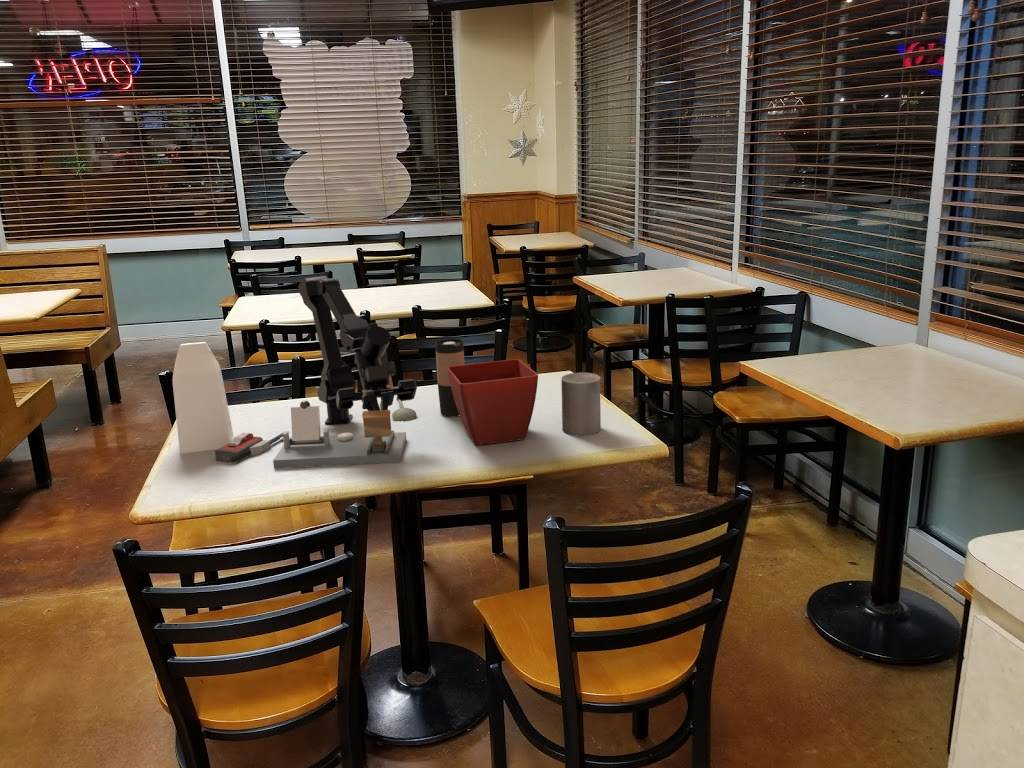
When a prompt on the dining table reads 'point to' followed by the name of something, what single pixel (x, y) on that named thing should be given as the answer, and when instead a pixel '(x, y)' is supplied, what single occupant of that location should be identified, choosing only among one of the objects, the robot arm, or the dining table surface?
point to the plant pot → (494, 399)
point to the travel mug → (447, 355)
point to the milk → (200, 400)
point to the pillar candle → (581, 404)
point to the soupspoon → (403, 413)
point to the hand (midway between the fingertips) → (384, 425)
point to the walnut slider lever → (377, 427)
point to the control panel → (340, 451)
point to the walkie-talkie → (243, 447)
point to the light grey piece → (305, 425)
